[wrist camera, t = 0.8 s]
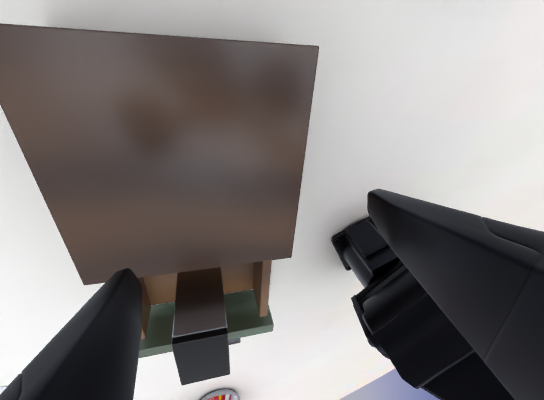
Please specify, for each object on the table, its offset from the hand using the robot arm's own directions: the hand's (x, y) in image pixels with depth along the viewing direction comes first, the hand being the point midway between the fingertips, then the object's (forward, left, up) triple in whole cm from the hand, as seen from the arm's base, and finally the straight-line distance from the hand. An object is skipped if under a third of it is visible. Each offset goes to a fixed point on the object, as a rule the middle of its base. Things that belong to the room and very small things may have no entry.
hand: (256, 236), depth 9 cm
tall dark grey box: (-10, +9, -12) cm, 18 cm away
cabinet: (0, +3, -14) cm, 14 cm away
